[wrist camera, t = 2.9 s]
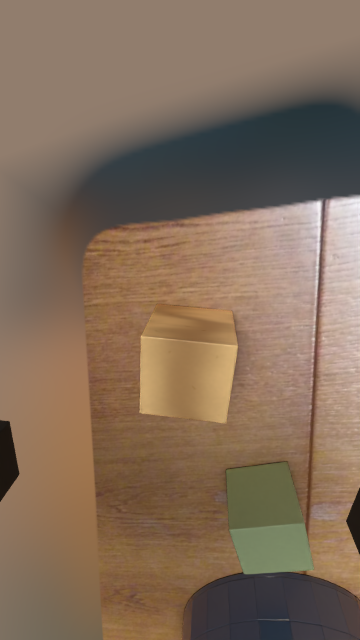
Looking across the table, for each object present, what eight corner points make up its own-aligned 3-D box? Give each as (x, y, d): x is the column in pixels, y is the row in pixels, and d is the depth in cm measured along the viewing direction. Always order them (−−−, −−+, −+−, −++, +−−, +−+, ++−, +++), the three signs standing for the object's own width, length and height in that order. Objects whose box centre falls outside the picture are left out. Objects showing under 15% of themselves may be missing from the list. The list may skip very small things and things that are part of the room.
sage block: (238, 510, 27) (243, 575, 22) (225, 469, 25) (228, 530, 21) (296, 504, 26) (314, 570, 22) (287, 460, 24) (304, 523, 20)
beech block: (154, 368, 22) (139, 413, 18) (156, 303, 20) (140, 335, 16) (223, 375, 22) (226, 423, 17) (232, 310, 20) (238, 346, 15)
